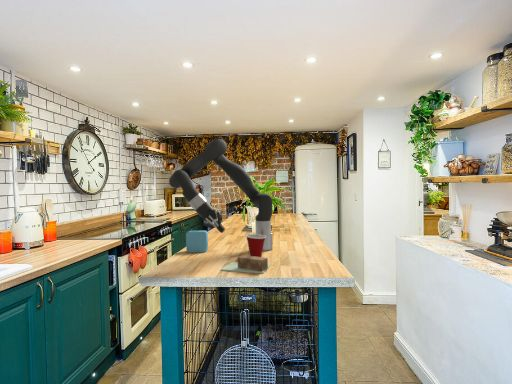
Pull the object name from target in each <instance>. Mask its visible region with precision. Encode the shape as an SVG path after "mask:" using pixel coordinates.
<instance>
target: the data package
mask: <svg viewBox="0 0 512 384" xmlns="http://www.w3.org/2000/svg"><path fill="white" fill-rule="evenodd" d="M185 241H186V242H185V244H186V246H185V249H186V252H187V253H206V252H207V251H209V233H208V230H189V231H187V232H186V233H185Z"/></svg>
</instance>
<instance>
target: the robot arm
mask: <svg viewBox="0 0 512 384" xmlns="http://www.w3.org/2000/svg"><path fill="white" fill-rule="evenodd" d="M227 145H228V144H227V142H226V141H225V140H224V139H223V138H215V139H212V140H211V141H209V142H208V143H206V144H205V146H204V151H202V152H201V153H199V154H198V155H196V156H195V157H193V158H192V159H190V160H189V161H188V162H186V163H185V164H184V165H183V166H182V167H181V168H180V169H177V170H175V171H174V172H173V173H172V175H170V177H169V180H168V183H169V186H171V188H174V189H182V193H181V194H182V196H183V197H184V199H185V200H186V201H187V202H188V204H189V205H190V207H192V209H193V210H194V211H195V212H196V213H197V215H199V217H201V218H202V220H203V223H202V225H203V227H207V228H209V229H212V230H213V229H217V231H218V232H219V233H221V234H223V233H224V232H225V231H226V228H225V226H223V224H222V222H223V215H222V210H220V209H219V210H216V209H214V208H213V205H212V204H211V203H210V201H208V200H207V199H206V198H205V197H204V195H203V194H201V193H200V191H199V190H198V189H197V187H195V185H194V183H193V181H192V180H191V178H192V177H194V176H195V175H197V173H199V172H200V171H201V170H202V169H204V167H205V166H207V165H208V164H209V163H211V162H212V161H213V162H214V163H215V164H216V165H218V166H219V168H220V169H222V171H223V172H224V173H225V174H226V175H227V176H228V177H229V178H230V179H231V180H232V181H233V183H234V184H235V185H236V186H238V189H240V190H241V191H242V192H243V193H244V194H245V195H246V197H247V198H248V199H249V201H250V202H251V204H252V205H253V206H254V207H255V208H256V209H258V213H257V214H256V215H255V222H254V223H255V224H254V225H255V234H259V235H264V236H266V238H265V240H264V245H263V251H264V252H265V251H270V250H273V232H272V215H273V198H272V196H271V195H270V194H268V193H262V192H260V190H259V189H257V188H256V187H255V185H254V184H253V180H252V178H251V176H250V174H249V173H248V172H247V171H246V169H245V168H243V166H241V165H240V164H238V163H236V162H234V161H232V160H230V159H228V158H227V157H226V156H225V155H224V154H225V153H226V152H227V151H228V150H227V149H228V146H227ZM263 251H262V252H263Z"/></svg>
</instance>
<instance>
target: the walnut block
mask: <svg viewBox="0 0 512 384" xmlns="http://www.w3.org/2000/svg"><path fill="white" fill-rule="evenodd" d="M268 261H269V259H268V257H263V256H262V257H256V256H250V255H246V254H243V255H240V256H238V257H237V262H238V268H242V269H248V270H255V271H261V272H262V271H265V270H266V271H267V270H269V268H268V264H269V263H268ZM266 271H265V272H266Z"/></svg>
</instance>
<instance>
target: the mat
mask: <svg viewBox="0 0 512 384" xmlns="http://www.w3.org/2000/svg"><path fill="white" fill-rule="evenodd" d="M271 266H272V264H270V263H268V269H269V268H270V267H271ZM220 271H223V272H237V273H248V274H249V273H250V274H264V273H266V271H267V270H265V271H262V272H261V271H255V270H248V269H242V268H238V261H236V262H235V261H231V262H229V263H228V264H227V265H225V266H224V267H222V268H221V269H220Z"/></svg>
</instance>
